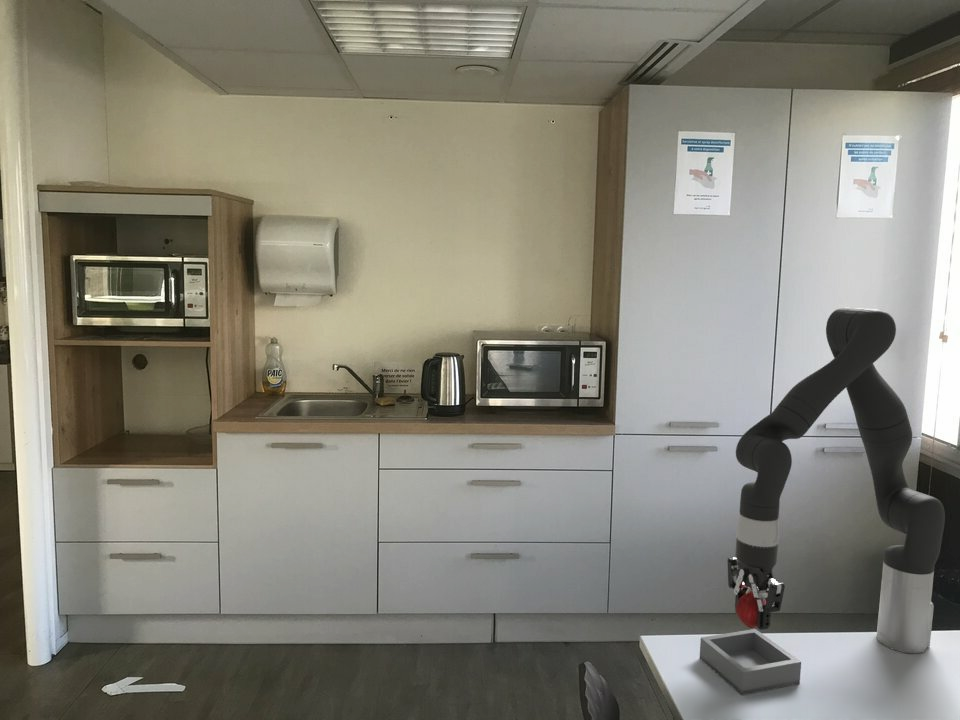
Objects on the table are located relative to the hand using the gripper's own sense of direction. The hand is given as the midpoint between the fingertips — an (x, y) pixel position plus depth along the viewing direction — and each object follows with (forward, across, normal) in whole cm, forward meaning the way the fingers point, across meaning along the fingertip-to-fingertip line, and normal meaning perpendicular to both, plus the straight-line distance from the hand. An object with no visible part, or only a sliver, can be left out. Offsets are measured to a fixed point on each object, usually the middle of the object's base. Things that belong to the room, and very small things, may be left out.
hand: (751, 620), depth 140 cm
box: (+11, 0, 0) cm, 11 cm away
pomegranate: (+2, 0, 0) cm, 2 cm away
